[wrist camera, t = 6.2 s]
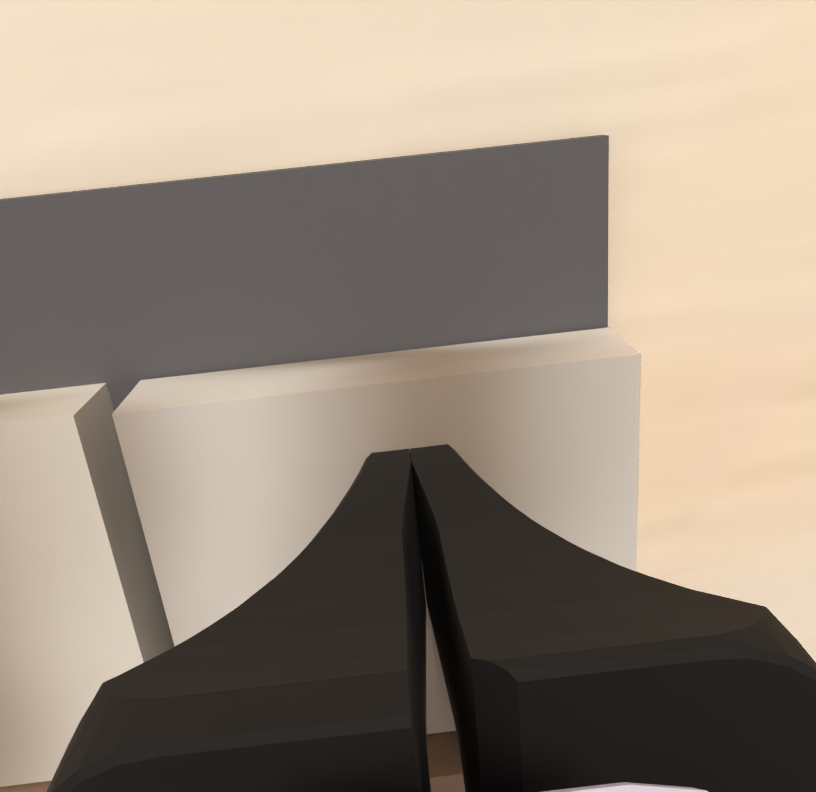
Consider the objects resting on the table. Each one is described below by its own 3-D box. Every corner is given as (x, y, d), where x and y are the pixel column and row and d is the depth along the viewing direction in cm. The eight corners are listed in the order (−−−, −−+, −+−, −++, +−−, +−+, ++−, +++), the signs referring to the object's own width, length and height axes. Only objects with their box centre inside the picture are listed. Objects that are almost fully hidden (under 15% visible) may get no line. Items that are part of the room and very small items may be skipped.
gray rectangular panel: (-175, 769, 15) (-186, 781, 15) (-456, 248, 11) (-478, 251, 11) (601, 673, 16) (605, 683, 15) (602, 134, 11) (608, 135, 11)
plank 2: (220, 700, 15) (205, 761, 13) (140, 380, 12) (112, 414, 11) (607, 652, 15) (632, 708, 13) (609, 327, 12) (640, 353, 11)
